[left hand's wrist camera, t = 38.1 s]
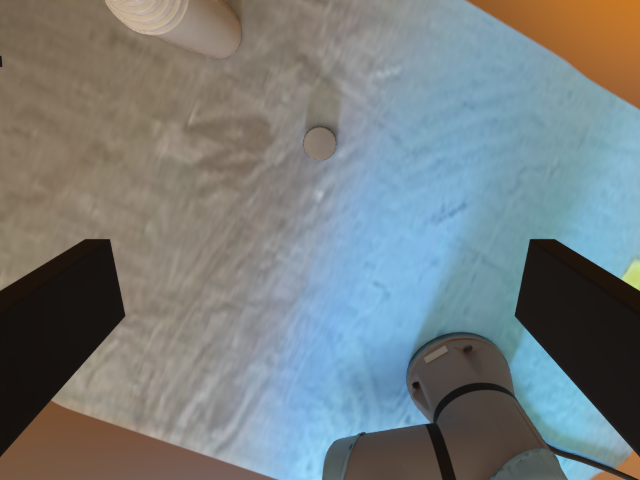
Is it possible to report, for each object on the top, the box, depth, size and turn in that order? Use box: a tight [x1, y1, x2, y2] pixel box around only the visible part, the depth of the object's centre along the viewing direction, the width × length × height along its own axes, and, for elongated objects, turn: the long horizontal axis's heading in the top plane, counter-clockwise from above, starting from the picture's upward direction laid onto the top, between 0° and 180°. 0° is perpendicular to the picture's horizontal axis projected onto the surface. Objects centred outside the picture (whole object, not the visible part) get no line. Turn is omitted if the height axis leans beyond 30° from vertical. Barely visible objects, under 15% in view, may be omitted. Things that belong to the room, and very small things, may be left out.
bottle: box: [105, 0, 242, 59], centre depth 32 cm, size 6×6×25 cm
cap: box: [303, 126, 336, 161], centre depth 47 cm, size 4×4×2 cm
